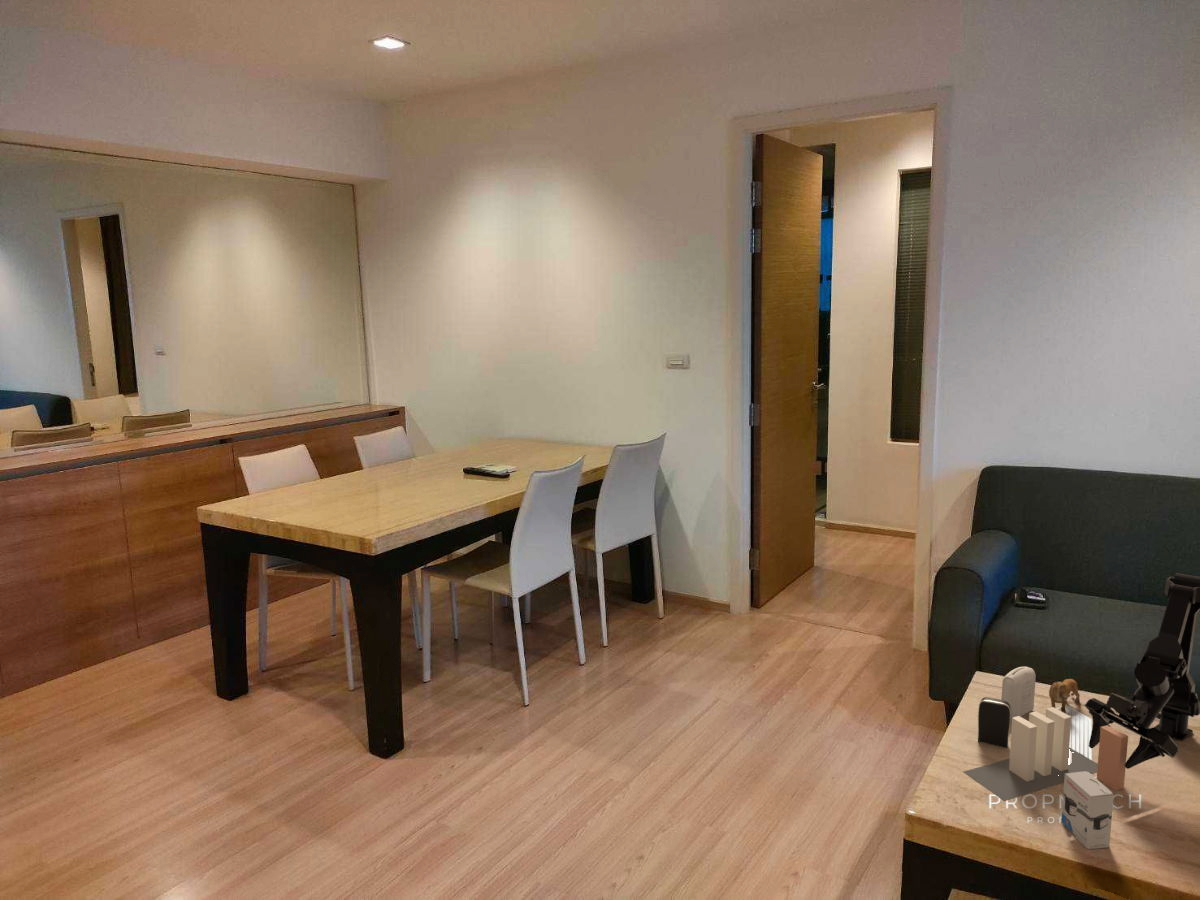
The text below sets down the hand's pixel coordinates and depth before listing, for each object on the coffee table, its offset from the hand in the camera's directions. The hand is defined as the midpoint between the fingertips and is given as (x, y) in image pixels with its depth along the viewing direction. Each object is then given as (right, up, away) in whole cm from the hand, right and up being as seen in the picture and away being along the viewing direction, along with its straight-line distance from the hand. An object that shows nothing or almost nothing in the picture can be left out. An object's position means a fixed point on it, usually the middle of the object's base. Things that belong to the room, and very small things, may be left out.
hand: (1107, 757), depth 182 cm
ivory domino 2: (-11, -6, +8) cm, 15 cm away
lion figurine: (+10, 0, +35) cm, 37 cm away
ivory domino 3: (-6, -5, +9) cm, 12 cm away
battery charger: (-16, -4, +20) cm, 26 cm away
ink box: (-13, -11, -14) cm, 22 cm away
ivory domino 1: (-16, -6, +6) cm, 18 cm away
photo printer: (-3, -1, +33) cm, 34 cm away
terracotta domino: (+2, -7, +2) cm, 7 cm away
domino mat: (-12, -6, +7) cm, 16 cm away
